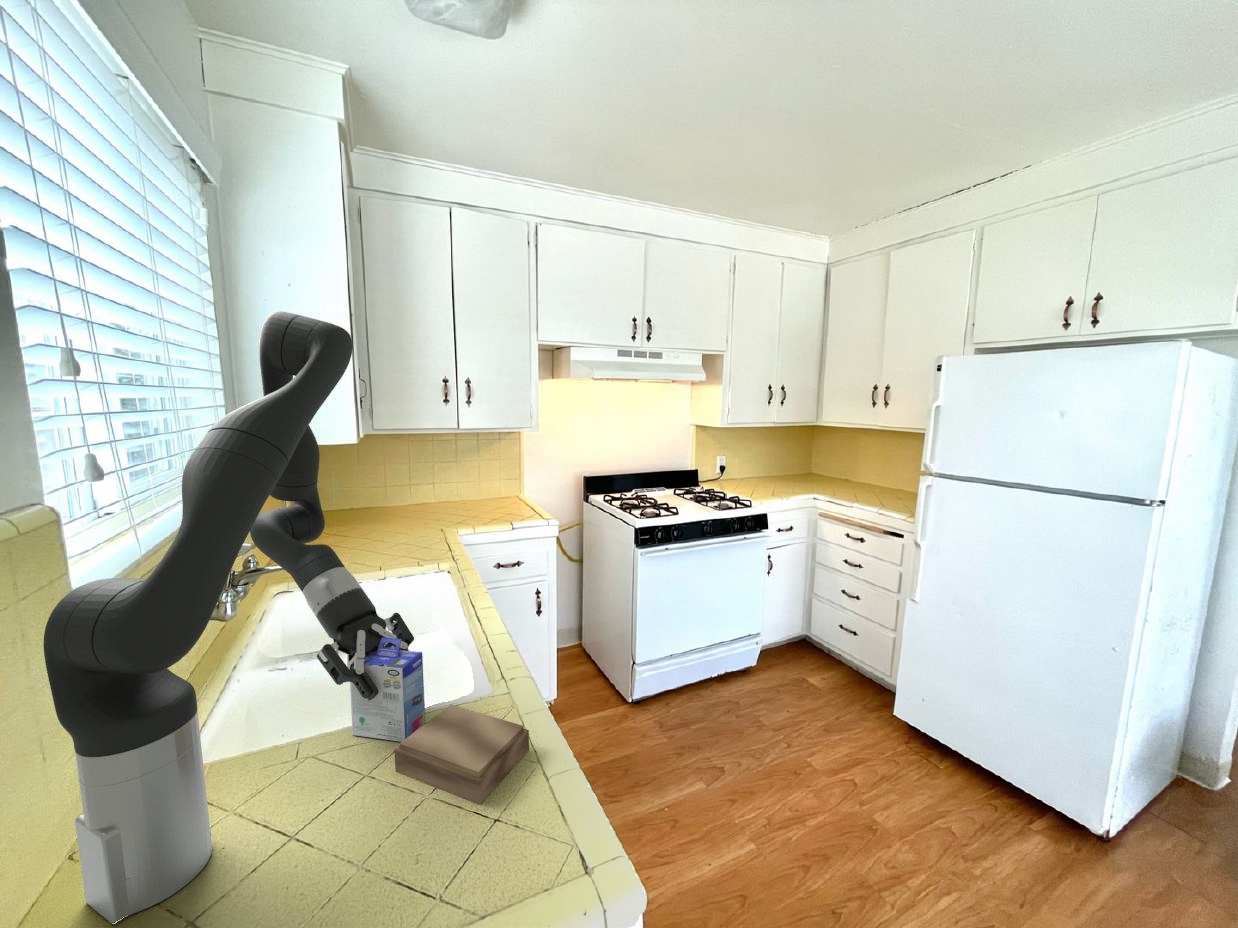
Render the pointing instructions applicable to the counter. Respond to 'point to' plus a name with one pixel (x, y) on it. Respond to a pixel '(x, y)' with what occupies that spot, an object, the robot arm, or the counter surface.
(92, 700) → the robot arm
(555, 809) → the counter surface
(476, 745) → the walnut stand
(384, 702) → the ink cartridge box
